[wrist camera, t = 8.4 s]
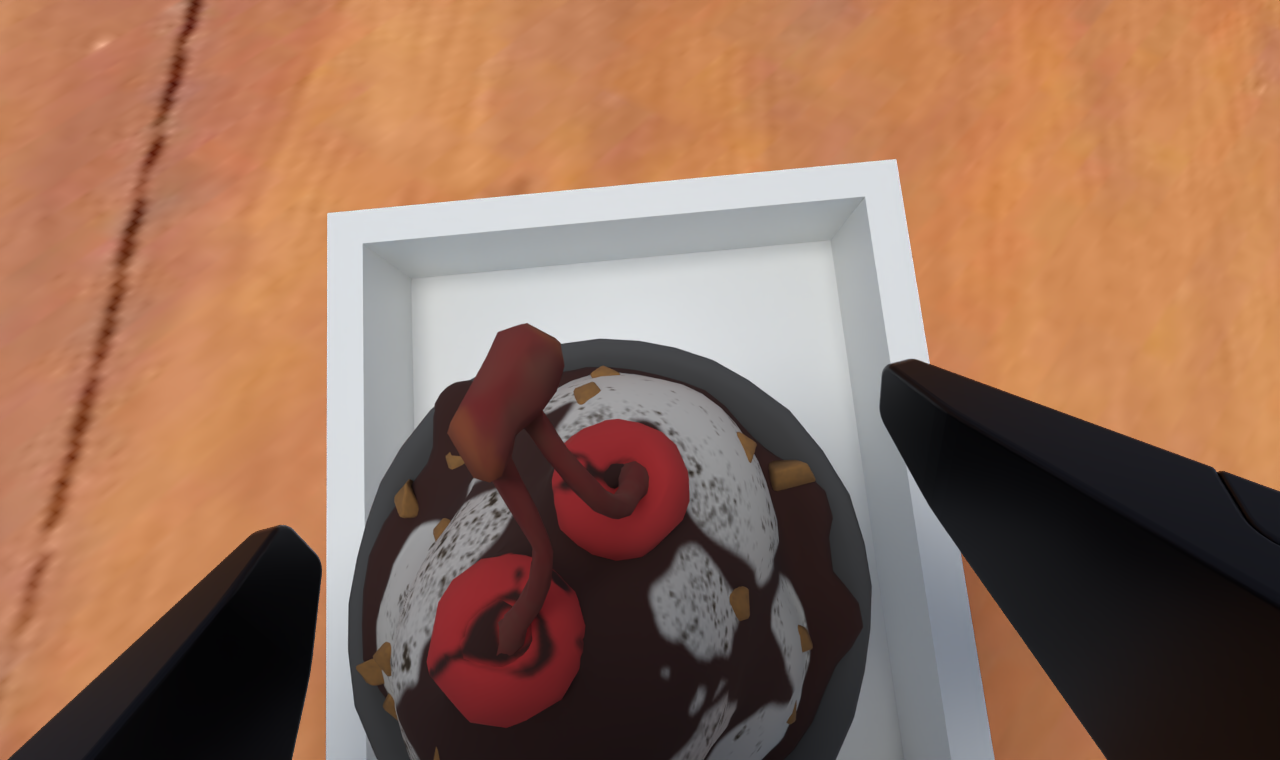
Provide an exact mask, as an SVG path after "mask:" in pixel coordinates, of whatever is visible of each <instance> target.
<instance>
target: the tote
mask: <svg viewBox="0 0 1280 760" xmlns="http://www.w3.org/2000/svg"><path fill="white" fill-rule="evenodd" d="M525 323H528V324H530V325H532V326H534V327H536V328H538V329H539V330H541V331H543V332H545V333H547V334H549V335H551V336H553V337H555V338H556V339H557V340H558V341H559V342H560V343H561V344H563V343H571V342H578V341H585V340H592V339H600V338H601V339H618V340H635V341H643V342H649V343H654V344H659V345H664V346H670V347H675V348H678V349H681V350H684V351H687V352H690V353H693V354H696V355H699V356H703V357H706V358H709V359H712V360H714V361H716V362H718V363H719V364H721V365H723V366H725V367H726V368H728V369H730V370H732V371H734V372H735V373H737V374H739V375H741V376H742V377H744V378H746V379H748V380H749V381H751V382H752V383H753V384H755V385H756V386H757V387H759V388H760V389H761V390H763V391H764V392H766V393H767V394H768V395H770V396H771V397H772V398H774V399H775V400H776V401H778V402H779V403H780V404H782V405H783V406H785V407H786V408H787V409H789V410H790V411H791V413H792V414H793V415H794V416H795V417H796V419H797V420H798V421H799V422H800V423H801V425H802V426H803V427H804V428H805V430H806V431H807V432H808V433H809V434H810V436H811V437H812V438H813V439H814V440H815V442H816V443H817V444H818V445H819V446H820V448H821V449H822V450H823V452H824V453H825V455H826V457H827V458H828V460H829V462H830V463H831V465H832V466H833V468H834V470H835V471H836V473H837V475H838V476H839V478H840V479H841V481H842V483H843V484H844V486H845V488H846V489H847V491H848V492H849V494H850V497H851V500H852V503H853V507H854V510H855V513H856V517H857V520H858V523H859V526H860V530H861V533H862V536H863V539H864V543H865V548H866V554H867V560H868V566H869V572H870V578H871V584H872V597H871V628H870V636H869V644H868V651H867V659H866V666H865V673H864V677H863V681H862V686H861V690H860V694H859V699H858V703H857V708H856V712H855V716H854V719H853V721H852V724H851V726H850V728H849V731H848V733H847V735H846V738H845V740H844V742H843V745H842V747H841V749H840V751H839V754H838V756H837V758H836V760H995V759H994V753H993V747H992V741H991V735H990V728H989V722H988V716H987V710H986V704H985V698H984V692H983V686H982V680H981V674H980V667H979V661H978V655H977V649H976V643H975V637H974V631H973V625H972V619H971V613H970V606H969V600H968V594H967V588H966V582H965V576H964V570H963V564H962V558H961V552H960V550H959V549H958V547H957V546H956V544H955V543H954V542H953V540H952V539H951V537H950V536H949V534H948V533H947V532H946V530H945V529H944V527H943V526H942V525H941V523H940V522H939V520H938V519H937V517H936V516H935V514H934V513H933V511H932V510H931V508H930V507H929V505H928V503H927V501H926V500H925V498H924V496H923V495H922V493H921V491H920V489H919V487H918V486H917V484H916V482H915V480H914V478H913V476H912V475H911V473H910V471H909V469H908V467H907V465H906V464H905V462H904V460H903V458H902V456H901V455H900V453H899V451H898V449H897V447H896V445H895V444H894V442H893V440H892V438H891V436H890V434H889V433H888V431H887V429H886V427H885V425H884V423H883V421H882V419H881V416H880V411H879V402H880V389H881V376H882V371H883V369H884V367H885V366H886V365H888V364H891V363H894V362H898V361H902V360H906V359H917V360H920V361H923V362H925V363H928V364H930V363H929V356H928V350H927V344H926V338H925V332H924V326H923V320H922V314H921V308H920V302H919V295H918V289H917V283H916V277H915V271H914V265H913V259H912V253H911V247H910V241H909V234H908V228H907V222H906V216H905V210H904V204H903V198H902V192H901V186H900V180H899V173H898V167H897V161H896V159H893V160H883V161H872V162H862V163H851V164H841V165H830V166H820V167H809V168H799V169H788V170H777V171H767V172H756V173H746V174H735V175H725V176H714V177H704V178H693V179H683V180H672V181H661V182H651V183H640V184H630V185H619V186H609V187H598V188H588V189H577V190H567V191H556V192H545V193H535V194H524V195H514V196H503V197H493V198H482V199H472V200H461V201H451V202H440V203H430V204H419V205H408V206H398V207H387V208H377V209H366V210H356V211H345V212H335V213H328V220H327V605H326V760H377V758H376V756H375V754H374V752H373V749H372V747H371V744H370V742H369V740H368V737H367V735H366V733H365V730H364V728H363V725H362V723H361V721H360V718H359V716H358V713H357V711H356V709H355V706H354V698H353V689H352V681H351V672H350V664H349V655H348V603H349V598H350V592H351V587H352V581H353V576H354V571H355V565H356V560H357V556H358V552H359V548H360V544H361V541H362V537H363V533H364V529H365V525H366V522H367V519H368V516H369V513H370V510H371V507H372V505H373V502H374V499H375V496H376V493H377V490H378V488H379V485H380V482H381V480H382V479H383V477H384V475H385V474H386V472H387V470H388V468H389V467H390V465H391V463H392V462H393V460H394V458H395V457H396V455H397V453H398V451H399V450H400V448H401V447H402V445H403V444H404V443H405V442H406V440H407V439H408V438H409V436H410V435H411V434H412V433H413V431H414V430H415V429H416V427H417V426H418V425H419V424H420V422H421V421H422V420H423V419H424V417H425V416H426V415H427V413H428V412H429V411H430V410H431V409H432V408H433V407H434V406H435V402H436V400H437V399H438V397H439V395H440V393H441V392H442V391H443V390H444V389H445V388H446V387H448V386H449V385H451V384H453V383H455V382H460V381H467V380H471V379H472V378H474V377H476V375H477V373H478V371H479V369H480V368H481V366H482V364H483V362H484V360H485V358H486V357H487V354H488V352H489V350H490V348H491V346H492V343H493V341H494V339H495V337H496V335H497V332H499V331H502V330H505V329H508V328H511V327H514V326H517V325H520V324H525Z"/></svg>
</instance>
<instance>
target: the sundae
mask: <svg viewBox="0 0 1280 760" xmlns="http://www.w3.org/2000/svg"><path fill="white" fill-rule="evenodd" d="M871 597H872V584H871V578H870V572H869V566H868V560H867V554H866V548H865V543H864V539H863V536H862V533H861V530H860V526H859V523H858V520H857V517H856V513H855V510H854V507H853V503H852V500H851V497H850V494H849V492H848V491H847V489H846V488H845V486H844V484H843V483H842V481H841V479H840V478H839V476H838V475H837V473H836V471H835V470H834V468H833V466H832V465H831V463H830V462H829V460H828V458H827V457H826V455H825V453H824V452H823V450H822V449H821V448H820V446H819V445H818V444H817V443H816V442H815V440H814V439H813V438H812V437H811V436H810V434H809V433H808V432H807V431H806V430H805V428H804V427H803V426H802V425H801V423H800V422H799V421H798V420H797V419H796V417H795V416H794V415H793V414H792V413H791V411H790V410H789V409H787V408H786V407H785V406H783V405H782V404H780V403H779V402H778V401H776V400H775V399H774V398H772V397H771V396H770V395H768V394H767V393H766V392H764V391H763V390H761V389H760V388H759V387H757V386H756V385H755V384H753V383H752V382H751V381H749V380H748V379H746V378H744V377H742V376H741V375H739V374H737V373H735V372H734V371H732V370H730V369H728V368H726V367H725V366H723V365H721V364H719V363H718V362H716V361H714V360H712V359H709V358H706V357H703V356H699V355H696V354H693V353H690V352H687V351H684V350H681V349H678V348H675V347H670V346H664V345H659V344H654V343H649V342H643V341H635V340H618V339H601V338H600V339H592V340H585V341H578V342H571V343H563V344H561V343H560V342H559V341H558V340H557V339H556V338H555V337H553V336H551V335H549V334H547V333H545V332H543V331H541V330H539V329H538V328H536V327H534V326H532V325H530V324H528V323H525V324H520V325H517V326H514V327H511V328H508V329H505V330H502V331H499V332H497V335H496V337H495V339H494V341H493V343H492V346H491V348H490V350H489V352H488V354H487V357H486V358H485V360H484V362H483V364H482V366H481V368H480V369H479V371H478V373H477V375H476V377H474V378H472V379H471V380H467V381H460V382H455V383H453V384H451V385H449V386H448V387H446V388H445V389H444V390H443V391H442V392H441V393H440V395H439V397H438V399H437V400H436V402H435V406H434V407H433V408H432V409H431V410H430V411H429V412H428V413H427V415H426V416H425V417H424V419H423V420H422V421H421V422H420V424H419V425H418V426H417V427H416V429H415V430H414V431H413V433H412V434H411V435H410V436H409V438H408V439H407V440H406V442H405V443H404V444H403V445H402V447H401V448H400V450H399V451H398V453H397V455H396V457H395V458H394V460H393V462H392V463H391V465H390V467H389V468H388V470H387V472H386V474H385V475H384V477H383V479H382V480H381V482H380V485H379V488H378V490H377V493H376V496H375V499H374V502H373V505H372V507H371V510H370V513H369V516H368V519H367V522H366V525H365V529H364V533H363V537H362V541H361V544H360V548H359V552H358V556H357V560H356V565H355V571H354V576H353V581H352V587H351V592H350V598H349V603H348V655H349V664H350V672H351V681H352V689H353V698H354V706H355V709H356V711H357V713H358V716H359V718H360V721H361V723H362V725H363V728H364V730H365V733H366V735H367V737H368V740H369V742H370V744H371V747H372V749H373V752H374V754H375V756H376V758H377V760H836V758H837V756H838V754H839V751H840V749H841V747H842V745H843V742H844V740H845V738H846V735H847V733H848V731H849V728H850V726H851V724H852V721H853V719H854V716H855V712H856V708H857V703H858V699H859V694H860V690H861V686H862V681H863V677H864V673H865V666H866V659H867V651H868V644H869V636H870V628H871Z"/></svg>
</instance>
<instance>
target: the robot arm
mask: <svg viewBox="0 0 1280 760" xmlns="http://www.w3.org/2000/svg"><path fill="white" fill-rule="evenodd" d="M879 411H880V416H881V419H882V421H883V423H884V425H885V427H886V429H887V431H888V433H889V434H890V436H891V438H892V440H893V442H894V444H895V445H896V447H897V449H898V451H899V453H900V455H901V456H902V458H903V460H904V462H905V464H906V465H907V467H908V469H909V471H910V473H911V475H912V476H913V478H914V480H915V482H916V484H917V486H918V487H919V489H920V491H921V493H922V495H923V496H924V498H925V500H926V501H927V503H928V505H929V507H930V508H931V510H932V511H933V513H934V514H935V516H936V517H937V519H938V520H939V522H940V523H941V525H942V526H943V527H944V529H945V530H946V532H947V533H948V534H949V536H950V537H951V539H952V540H953V542H954V543H955V544H956V546H957V547H958V549H959V550H960V552H961V553H962V554H963V556H964V557H965V559H966V560H967V561H968V563H969V564H970V566H971V567H972V569H973V570H974V571H975V573H976V574H977V576H978V577H979V578H980V580H981V581H982V583H983V584H984V586H985V587H986V588H987V590H988V591H989V593H990V594H991V596H992V597H993V598H994V600H995V601H996V603H997V604H998V605H999V607H1000V608H1001V610H1002V611H1003V613H1004V614H1005V615H1006V617H1007V618H1008V620H1009V621H1010V622H1011V624H1012V625H1013V627H1014V628H1015V630H1016V631H1017V632H1018V634H1019V635H1020V637H1021V638H1022V639H1023V641H1024V642H1025V644H1026V645H1027V647H1028V648H1029V649H1030V651H1031V652H1032V654H1033V655H1034V657H1035V658H1036V659H1037V661H1038V662H1039V664H1040V665H1041V666H1042V668H1043V669H1044V671H1045V672H1046V674H1047V675H1048V676H1049V678H1050V679H1051V681H1052V682H1053V683H1054V685H1055V686H1056V688H1057V689H1058V691H1059V692H1060V693H1061V695H1062V696H1063V698H1064V699H1065V701H1066V702H1067V703H1068V705H1069V706H1070V708H1071V709H1072V710H1073V712H1074V713H1075V715H1076V716H1077V718H1078V719H1079V720H1080V722H1081V723H1082V725H1083V726H1084V727H1085V729H1086V730H1087V732H1088V733H1089V735H1090V736H1091V737H1092V739H1093V740H1094V742H1095V743H1096V745H1097V746H1098V747H1099V749H1100V750H1101V752H1102V753H1103V754H1104V756H1105V757H1106V759H1107V760H1280V491H1277V490H1274V489H1272V488H1269V487H1266V486H1263V485H1260V484H1258V483H1255V482H1252V481H1249V480H1247V479H1244V478H1241V477H1239V476H1236V475H1233V474H1230V473H1228V472H1225V471H1219V472H1216V470H1215V469H1214V468H1213V467H1211V466H1208V465H1205V464H1202V463H1200V462H1197V461H1194V460H1191V459H1189V458H1186V457H1183V456H1180V455H1178V454H1175V453H1172V452H1169V451H1167V450H1164V449H1161V448H1158V447H1156V446H1153V445H1150V444H1148V443H1145V442H1142V441H1139V440H1137V439H1134V438H1131V437H1128V436H1126V435H1123V434H1120V433H1117V432H1115V431H1112V430H1109V429H1106V428H1104V427H1101V426H1098V425H1095V424H1093V423H1090V422H1087V421H1084V420H1082V419H1079V418H1076V417H1073V416H1071V415H1068V414H1065V413H1063V412H1060V411H1057V410H1054V409H1052V408H1049V407H1046V406H1043V405H1041V404H1038V403H1035V402H1032V401H1030V400H1027V399H1024V398H1021V397H1019V396H1016V395H1013V394H1010V393H1008V392H1005V391H1002V390H999V389H997V388H994V387H991V386H988V385H986V384H983V383H980V382H977V381H975V380H972V379H969V378H967V377H964V376H961V375H958V374H956V373H953V372H950V371H947V370H945V369H942V368H939V367H936V366H934V365H931V364H928V363H925V362H923V361H920V360H917V359H906V360H902V361H898V362H894V363H891V364H888V365H886V366H885V367H884V369H883V371H882V376H881V389H880V402H879ZM321 576H322V566H321V562H320V559H319V557H318V555H317V554H316V553H315V552H314V551H313V550H312V549H311V548H310V547H309V546H308V545H307V544H306V542H305V541H304V540H303V539H302V538H301V537H300V536H299V535H298V534H297V533H296V532H295V531H294V530H293V529H292V528H291V527H288V526H286V525H278V526H274V527H270V528H266V529H263V530H259V531H257V532H255V533H253V534H251V535H250V536H249V537H248V538H247V539H246V540H245V541H244V542H243V543H241V544H240V545H239V546H238V547H237V548H236V549H235V550H234V551H233V552H232V553H231V554H230V555H228V556H227V557H226V558H225V559H224V560H223V561H222V562H221V563H220V564H219V565H218V566H217V567H215V568H214V569H213V570H212V571H211V572H210V573H209V574H208V575H207V576H206V577H205V578H204V579H203V580H201V581H200V582H199V583H198V584H197V585H196V586H195V587H194V588H193V589H192V590H191V591H190V592H188V593H187V594H186V595H185V596H184V597H183V598H182V599H181V600H180V601H179V602H178V603H177V604H175V605H174V606H173V607H172V608H171V609H170V610H169V611H168V612H167V613H166V614H165V615H164V616H162V617H161V618H160V619H159V620H158V621H157V622H156V623H155V624H154V625H153V626H152V627H151V628H150V629H148V630H147V631H146V632H145V633H144V634H143V635H142V636H141V637H140V638H139V639H138V640H137V641H135V642H134V643H133V644H132V645H131V646H130V647H129V648H128V649H127V650H126V651H125V652H124V653H122V654H121V655H120V656H119V657H118V658H117V659H116V660H115V661H114V662H113V663H112V664H111V665H109V666H108V667H107V668H106V669H105V670H104V671H103V672H102V673H101V674H100V675H99V676H98V677H97V678H95V679H94V680H93V681H92V682H91V683H90V684H89V685H88V686H87V687H86V688H85V689H84V690H82V691H81V692H80V693H79V694H78V695H77V696H76V697H75V698H74V699H73V700H72V701H71V702H69V703H68V704H67V705H66V706H65V707H64V708H63V709H62V710H61V711H60V712H59V713H58V714H56V715H55V716H54V717H53V718H52V719H51V720H50V721H49V722H48V723H47V724H46V725H45V726H44V727H42V728H41V729H40V730H39V731H38V732H37V733H36V734H35V735H34V736H33V737H32V738H31V739H29V740H28V741H27V742H26V743H25V744H24V745H23V746H22V747H21V748H20V749H19V750H18V751H16V752H15V753H14V754H13V755H12V756H11V757H10V758H9V759H8V760H292V756H293V752H294V747H295V743H296V738H297V733H298V729H299V724H300V720H301V715H302V710H303V706H304V701H305V697H306V692H307V687H308V682H309V677H310V671H311V664H312V657H313V648H314V639H315V630H316V621H317V612H318V603H319V594H320V585H321Z"/></svg>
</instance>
